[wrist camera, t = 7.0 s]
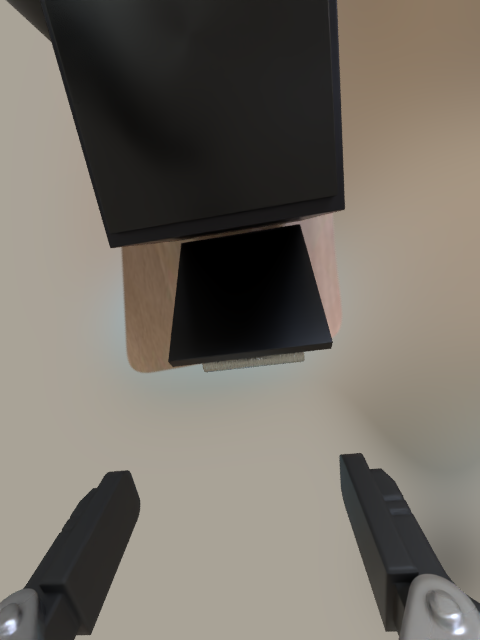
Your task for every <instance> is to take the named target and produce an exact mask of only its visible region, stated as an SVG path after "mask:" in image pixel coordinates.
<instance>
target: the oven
mask: <svg viewBox="0 0 480 640" xmlns="http://www.w3.org/2000/svg"><path fill="white" fill-rule="evenodd" d="M40 3H41V6H42V10H43V13H44V17H45V20H46V24H47V27H48V31H49V35H50V38H51V42H52V45H53V49H54V52H55V55H56V59H57V63H58V66H59V70H60V72H61V76H62V80H63V84H64V87H65V91H66V94H67V98H68V101H69V105H70V108H71V112H72V115H73V119H74V122H75V125H76V129H77V132H78V136H79V140H80V143H81V147H82V150H83V153H84V157H85V161H86V164H87V168H88V171H89V175H90V178H91V182H92V185H93V189H94V192H95V196H96V199H97V203H98V206H99V210H100V213H101V217H102V220H103V224H104V227H105V231H106V234H107V238H108V241H109V245H110V248H116V247H125V246H134V245H143V244H152V243H161V242H170V241H179V240H185V239H191V238H197V237H203V236H210V235H216V234H222V233H228V232H234V231H240V230H246V229H252V228H259V227H265V226H271V225H277V224H283V223H289V222H295V221H301V220H305V219H309V218H313V217H317V216H321V215H325V214H329V213H333V212H337V211H341V210H344V209H345V200H344V172H343V147H342V122H341V121H342V120H341V94H340V70H339V69H340V67H339V43H338V18H337V17H338V15H337V0H40Z"/></svg>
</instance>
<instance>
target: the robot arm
mask: <svg viewBox="0 0 480 640" xmlns="http://www.w3.org/2000/svg"><path fill="white" fill-rule="evenodd" d="M340 478H341V491H342V496H343V500H344V504H345V508H346V511H347V514H348V517H349V520H350V523H351V526H352V529H353V532H354V535H355V538H356V541H357V544H358V548H359V551H360V553H361V557H362V559H363V563H364V566H365V569H366V572H367V575H368V578H369V581H370V584H371V587H372V590H373V594H374V597H375V600H376V603H377V606H378V609H379V612H380V615H381V618H382V621H383V624H384V627H385V630H386V631H397V632H398V635H399V640H480V603H478V602H477V601H475V600H473V599H472V598H471V597H469V596H468V595H467V594H465V593H464V592H463V591H462V590H461V589H459V587H457V586H456V585H455V583H454V582H452V580H451V579H450V578H449V576H448V575H447V574H446V572H445V571H444V569H443V567H442V565H441V564H440V562H439V560H438V558H437V557H436V555H435V553H434V551H433V550H432V548H431V546H430V544H429V542H428V540H427V538H426V537H425V535H424V533H423V531H422V529H421V528H420V526H419V524H418V522H417V521H416V519H415V517H414V515H413V514H412V513H411V510H410V508H409V506H408V504H407V502H406V501H405V500H404V498H403V495H402V493H401V492H400V490H399V488H398V486H397V485H396V483H395V481H394V480H393V479H392V478H391V477H390V476H389V475H388V474H386V473H385V472H384V471H383V470H382V469H369V467H368V465H367V463H366V460H365V458H364V457H363V455H362V454H361V453H356V454H343V455H340ZM139 512H140V498H139V495H138V492H137V490H136V487H135V484H134V481H133V478H132V475H131V473H130V471H128V470H127V471H114V472H108V473H107V474H106V475H105V476H104V478H103V479H102V481H101V483H100V484H99V486H98V487H97V488H93V489H92V490H91V491H90V492H89V493H88V494H87V495H86V496H85V497H84V498H83V499H82V500H81V501H80V502H79V504H78V505H77V507H76V508H75V510H74V511H73V513H72V514H71V516H70V519H69V520H68V521H67V522H66V524H65V525H64V527H63V529H62V532H61V533H59V535H58V536H57V538H56V539H55V541H54V542H53V544H52V546H51V547H50V549H49V550H48V552H47V553H46V555H45V556H44V558H43V560H42V561H41V563H40V565H39V566H38V567H37V569H36V571H35V572H34V574H33V575H32V577H31V578H30V580H29V581H28V583H27V584H26V586H25V587H24V588H23V589H22V590H20V591H17V592H15V593H13V594H11V595H10V596H8V597H7V598H6V599H4V600H3V601H2V602H1V603H0V640H74V639H75V636H76V635H91V633H92V630H93V628H94V626H95V623H96V621H97V618H98V616H99V613H100V611H101V608H102V606H103V603H104V601H105V598H106V596H107V593H108V591H109V588H110V586H111V584H112V581H113V578H114V576H115V574H116V571H117V569H118V566H119V564H120V561H121V559H122V556H123V554H124V551H125V549H126V547H127V544H128V542H129V539H130V537H131V534H132V531H133V529H134V527H135V524H136V522H137V519H138V516H139Z"/></svg>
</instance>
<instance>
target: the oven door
mask: <svg viewBox="0 0 480 640" xmlns="http://www.w3.org/2000/svg"><path fill="white" fill-rule="evenodd" d="M332 343H333V342H332V338H331V334H330V331H329V327H328V324H327V320H326V316H325V313H324V309H323V305H322V302H321V298H320V295H319V291H318V287H317V284H316V280H315V277H314V273H313V269H312V266H311V262H310V259H309V255H308V251H307V248H306V244H305V241H304V237H303V233H302V230H301V226H300V224H298V225H292V226H285V227H279V228H273V229H267V230H261V231H254V232H248V233H242V234H236V235H230V236H224V237H217V238H211V239H205V240H199V241H193V242H187V243H181V252H180V261H179V270H178V279H177V288H176V297H175V306H174V315H173V324H172V333H171V342H170V351H169V360H168V362H169V363H170V364H171V365H172V366H173V367H175V366H184V365H192V364H201V363H202V364H203V369H204V371H205V372H213V371H221V370H231V369H240V368H249V367H257V366H266V365H275V364H284V363H293V362H302V361H304V352H305V351H314V350H322V349H331V347H332Z"/></svg>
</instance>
